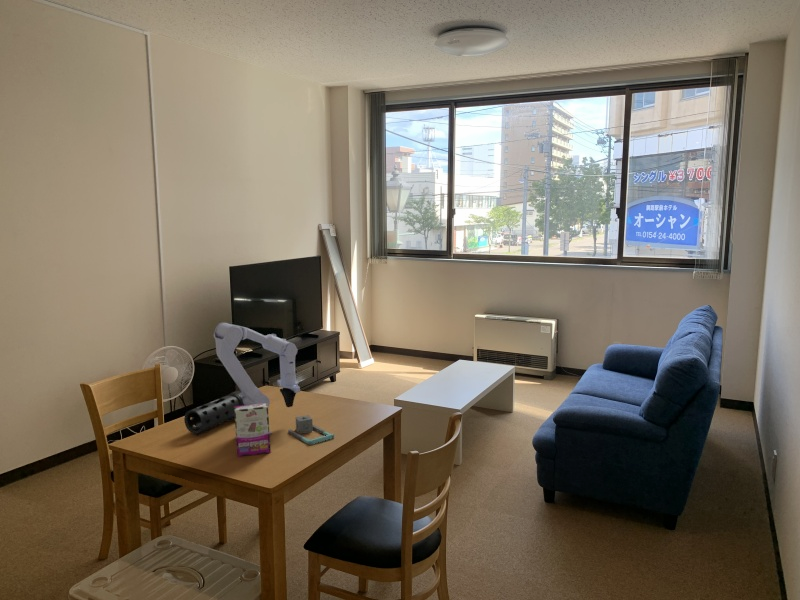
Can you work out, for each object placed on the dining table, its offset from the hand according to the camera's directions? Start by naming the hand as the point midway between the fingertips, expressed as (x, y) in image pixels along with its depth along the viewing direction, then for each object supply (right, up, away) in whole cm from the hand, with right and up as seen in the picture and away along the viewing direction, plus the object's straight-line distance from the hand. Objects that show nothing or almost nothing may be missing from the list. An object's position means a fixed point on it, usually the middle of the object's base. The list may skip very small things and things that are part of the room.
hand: (289, 406), depth 231 cm
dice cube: (+7, -8, -6) cm, 12 cm away
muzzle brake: (-27, -8, +2) cm, 28 cm away
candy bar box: (-7, -11, -26) cm, 30 cm away
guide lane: (+10, -9, -12) cm, 17 cm away
